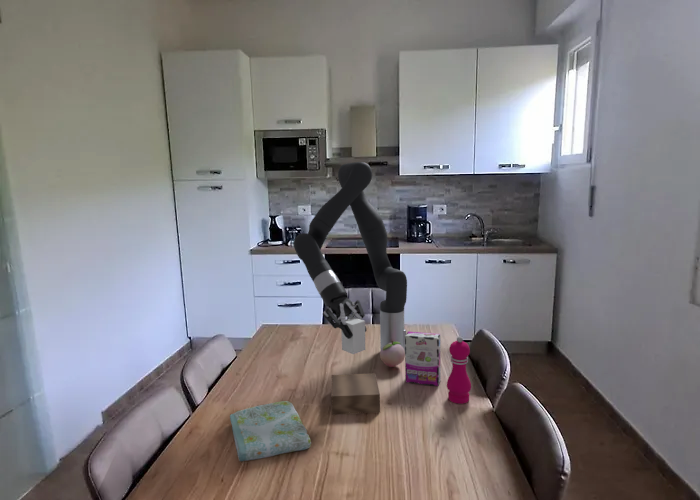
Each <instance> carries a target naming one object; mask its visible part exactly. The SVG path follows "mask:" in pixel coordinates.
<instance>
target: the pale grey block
mask: <svg viewBox="0 0 700 500" xmlns="http://www.w3.org/2000/svg"><path fill="white" fill-rule="evenodd" d="M354 317H355V316H354ZM354 317H353V318H347V319H346V318H345V321H346V325H348V327H349V329H350V330H351V332H352V334H353V336H352V337H351V338H350V339H348V338H347V337H346V336H345V335H344V333H343V332H342V330H341V329H340V330H341V350H342V351H343V352H346V353H349V354H352V355H355V354H358V353H361V352H363V351H366V332H365V326H366V320H364V319H362V320H361V319H357V318H356V317H355V318H354Z"/></svg>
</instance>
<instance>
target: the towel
mask: <svg viewBox="0 0 700 500" xmlns="http://www.w3.org/2000/svg"><path fill="white" fill-rule="evenodd" d="M229 420H230V423H231V426H232V427H231V429H232V434H233V439H234V444H235V448H236V452H237V453H236V454H237V455H236V456H237V458H238V461H239V462H245V461H253V460H259V459H265V458H269V457H270V458H271V457H273V456H277V455H282V454H287V453H292V452H298V451H304V450H308V449H309V448H311V446H312V440H311V438H310V435H309V434H308V431H307V428H306V427H305V425H304V423H303V421H302V420H301V418H300V415H299V413H298V412H297V410H296V409H295V406H294V405H293V403H292V402H290V401H288V400H285V401H284V400H283V401H275V402H271V403H270V402H269V403H266V404H262V405H261V404H260V405H255V406H251V407H248V408H244V409H242V410H241V409H240V410H237V411H235V412H234V413H230V415H229Z"/></svg>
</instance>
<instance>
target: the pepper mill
mask: <svg viewBox="0 0 700 500" xmlns="http://www.w3.org/2000/svg"><path fill="white" fill-rule="evenodd" d="M448 350H449V353H450V355H451V356H450V362H451V363H452V368H451V372H450V373H449V375H448V378H447V381H446V387H447V390H448V393H447V395H448V396H447V397H448V400H449V401H450V402H452V403H453V404H459V405H461V404H463V405H464V404H467V403H468V402H469V401H470V391H471V390H472V382H471V380H470V377H469V374H468V373H467V364H468V363H469V357H468V356H469V355H470V353H471V349H470V345H469V344H468V343H467V342H465V341H464V339H463V337H462V336H458V337H456V340H455V341H452V342H451V343H450V345H449V349H448Z"/></svg>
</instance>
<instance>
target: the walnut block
mask: <svg viewBox="0 0 700 500" xmlns="http://www.w3.org/2000/svg"><path fill="white" fill-rule="evenodd" d="M330 396H331V415H333V416H335V415H352V414H353V415H354V414H357V415H358V414H374V413H375V414H378V413H379V412H380V413H381V397H380V396H381V394H380V389H379V383H378V380H377V374H376V373H375V372H374V373H373V372H372V373H351V374H349V373H348V374H331V395H330ZM380 413H379V414H380Z"/></svg>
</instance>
